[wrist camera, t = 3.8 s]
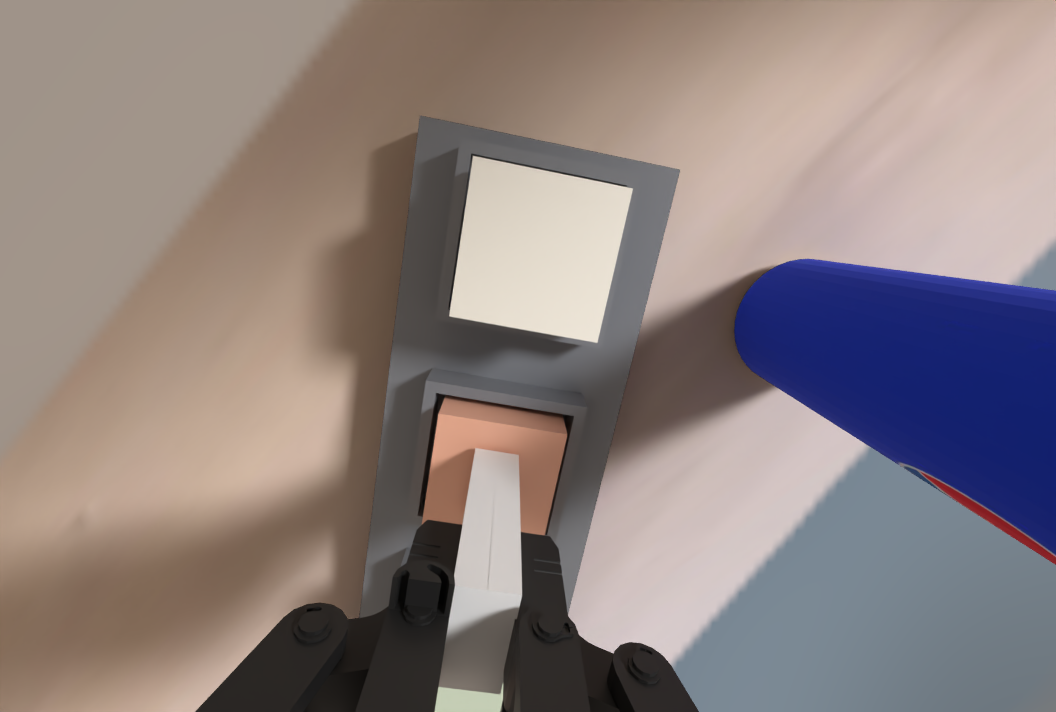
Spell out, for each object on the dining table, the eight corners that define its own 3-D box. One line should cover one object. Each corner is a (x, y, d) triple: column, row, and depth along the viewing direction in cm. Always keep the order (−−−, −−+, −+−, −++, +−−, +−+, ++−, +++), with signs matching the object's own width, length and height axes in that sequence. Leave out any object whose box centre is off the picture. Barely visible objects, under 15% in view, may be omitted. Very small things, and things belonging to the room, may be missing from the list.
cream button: (478, 164, 15) (473, 155, 13) (618, 192, 15) (632, 188, 13) (456, 304, 16) (448, 316, 14) (587, 328, 16) (597, 342, 15)
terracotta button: (446, 393, 18) (438, 413, 16) (562, 412, 19) (567, 434, 17) (430, 496, 20) (421, 527, 18) (539, 513, 20) (542, 544, 18)
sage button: (412, 597, 19) (401, 639, 17) (523, 612, 19) (525, 655, 18) (399, 685, 20) (386, 734, 18) (504, 698, 21) (503, 748, 19)
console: (429, 126, 18) (384, 76, 12) (663, 174, 19) (738, 152, 13) (360, 676, 25) (307, 832, 19) (535, 697, 26) (542, 855, 19)
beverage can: (720, 377, 21) (1156, 711, 7) (737, 255, 20) (1330, 348, 5) (837, 380, 21) (1506, 713, 7) (862, 260, 20) (1760, 361, 6)
